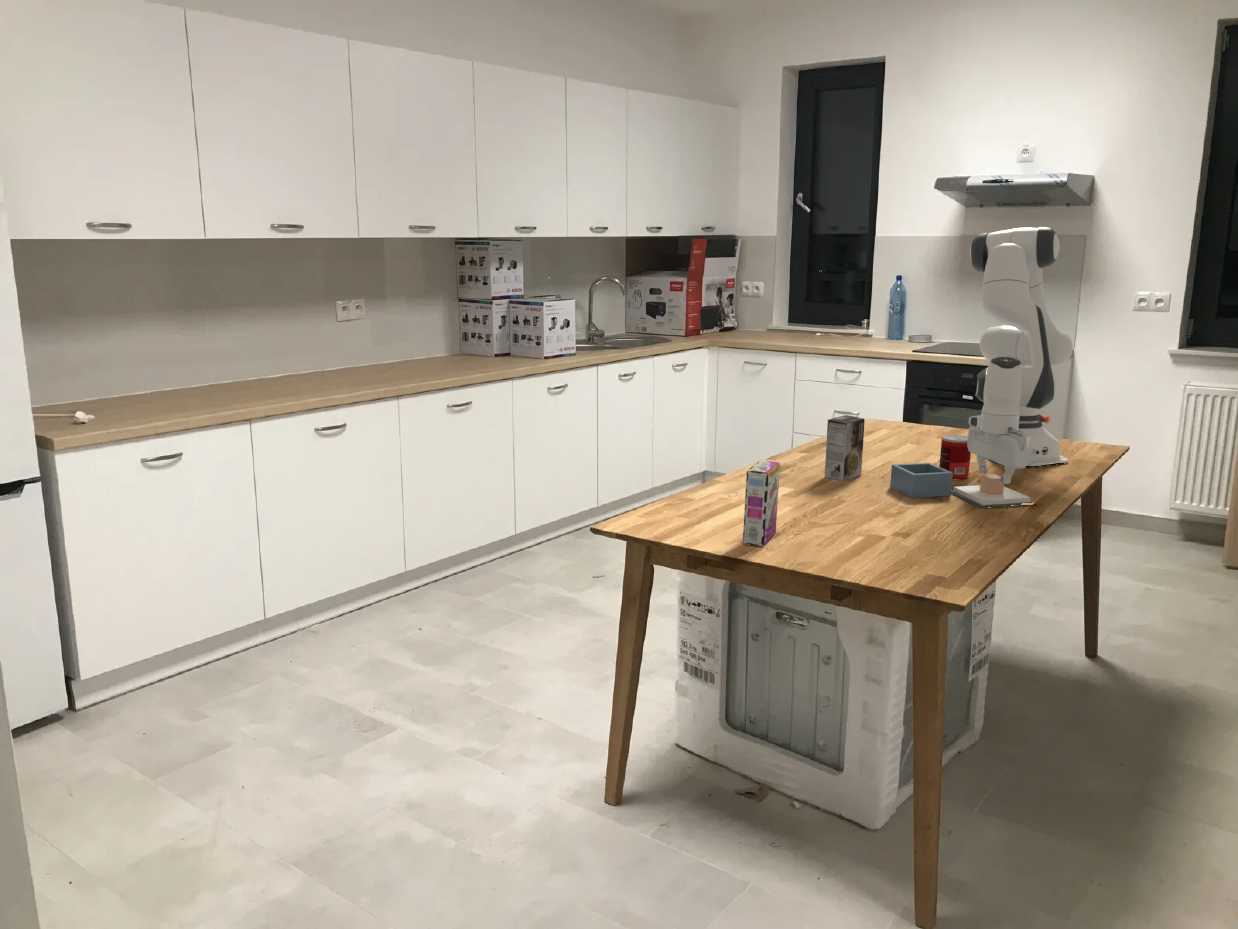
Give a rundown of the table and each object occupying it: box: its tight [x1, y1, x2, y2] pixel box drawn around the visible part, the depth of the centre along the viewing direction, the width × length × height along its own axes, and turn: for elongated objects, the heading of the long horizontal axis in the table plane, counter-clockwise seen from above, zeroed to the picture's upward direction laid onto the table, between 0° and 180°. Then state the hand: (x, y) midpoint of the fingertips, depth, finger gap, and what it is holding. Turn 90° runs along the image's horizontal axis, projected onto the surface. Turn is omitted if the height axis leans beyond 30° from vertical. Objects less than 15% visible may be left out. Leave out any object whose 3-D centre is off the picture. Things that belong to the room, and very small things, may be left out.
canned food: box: [938, 434, 972, 480], centre depth 263 cm, size 8×8×11 cm
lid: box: [953, 473, 1031, 505], centre depth 242 cm, size 13×13×5 cm
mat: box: [951, 489, 1035, 509], centre depth 243 cm, size 15×15×1 cm
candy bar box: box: [742, 460, 781, 548], centre depth 208 cm, size 11×5×16 cm, turn 157°
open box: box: [889, 462, 953, 499], centre depth 248 cm, size 11×11×6 cm
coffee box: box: [824, 415, 866, 482], centre depth 261 cm, size 9×6×16 cm
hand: (993, 478), depth 242 cm, fingers open, 8 cm apart
